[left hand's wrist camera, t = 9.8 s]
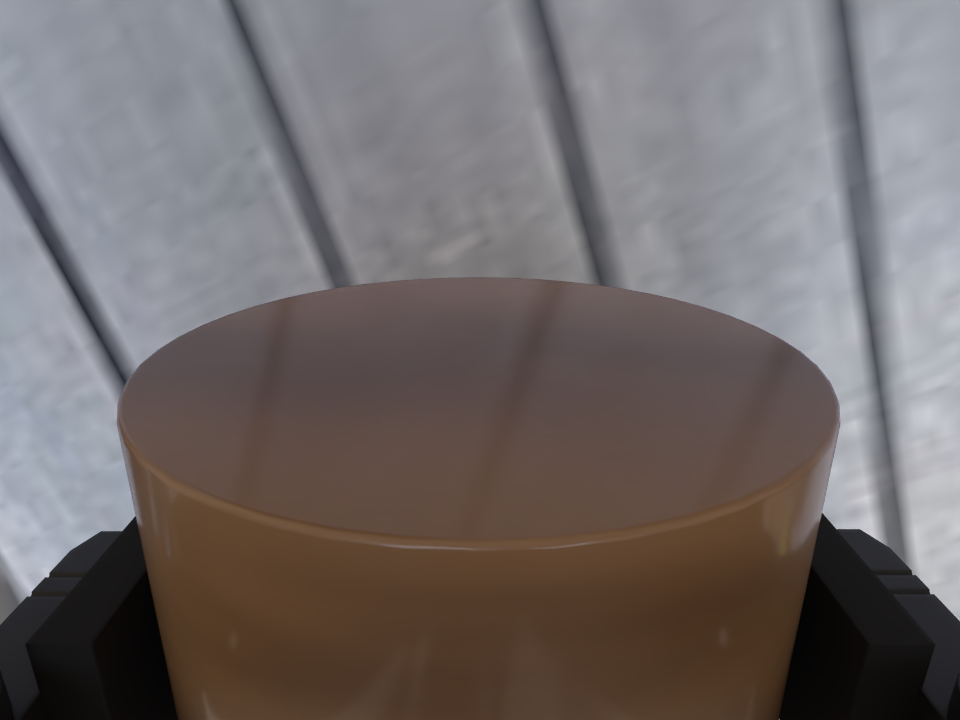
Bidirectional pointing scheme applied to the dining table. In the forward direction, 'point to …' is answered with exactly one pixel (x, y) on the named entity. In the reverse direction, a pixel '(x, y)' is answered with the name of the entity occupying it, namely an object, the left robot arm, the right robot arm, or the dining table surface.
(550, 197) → the dining table surface
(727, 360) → the rod
